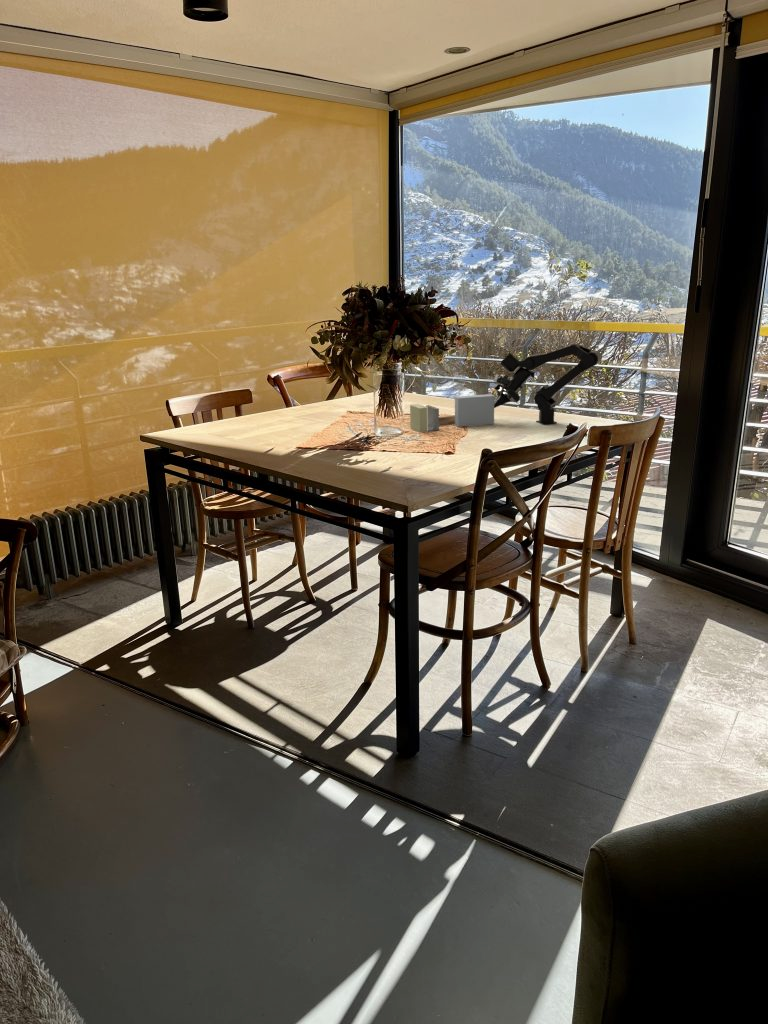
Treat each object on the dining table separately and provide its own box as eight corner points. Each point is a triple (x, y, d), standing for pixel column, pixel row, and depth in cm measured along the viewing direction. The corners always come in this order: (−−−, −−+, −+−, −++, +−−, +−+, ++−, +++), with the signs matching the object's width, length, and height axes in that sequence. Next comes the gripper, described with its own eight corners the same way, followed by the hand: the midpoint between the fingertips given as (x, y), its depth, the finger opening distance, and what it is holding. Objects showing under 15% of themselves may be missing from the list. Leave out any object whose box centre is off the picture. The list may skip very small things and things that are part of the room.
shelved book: (428, 431, 319) (427, 407, 316) (419, 432, 318) (419, 407, 315) (418, 427, 327) (417, 403, 324) (410, 428, 326) (409, 404, 323)
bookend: (438, 430, 321) (438, 408, 318) (424, 431, 319) (424, 410, 316) (429, 426, 329) (429, 405, 326) (415, 427, 327) (415, 406, 324)
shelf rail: (491, 418, 340) (491, 412, 339) (430, 426, 329) (430, 419, 328) (489, 417, 342) (489, 411, 341) (428, 425, 331) (428, 418, 330)
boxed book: (490, 421, 334) (490, 394, 331) (493, 423, 330) (494, 395, 326) (454, 424, 331) (454, 396, 327) (458, 426, 327) (458, 398, 323)
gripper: (497, 364, 335) (472, 391, 336) (513, 370, 318) (487, 398, 319) (514, 381, 339) (489, 408, 340) (531, 388, 322) (505, 416, 323)
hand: (492, 407), depth 330 cm, fingers closed, pressing on boxed book
